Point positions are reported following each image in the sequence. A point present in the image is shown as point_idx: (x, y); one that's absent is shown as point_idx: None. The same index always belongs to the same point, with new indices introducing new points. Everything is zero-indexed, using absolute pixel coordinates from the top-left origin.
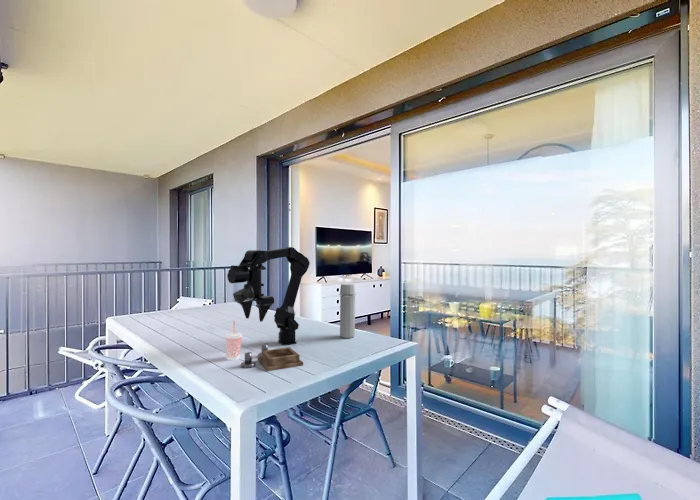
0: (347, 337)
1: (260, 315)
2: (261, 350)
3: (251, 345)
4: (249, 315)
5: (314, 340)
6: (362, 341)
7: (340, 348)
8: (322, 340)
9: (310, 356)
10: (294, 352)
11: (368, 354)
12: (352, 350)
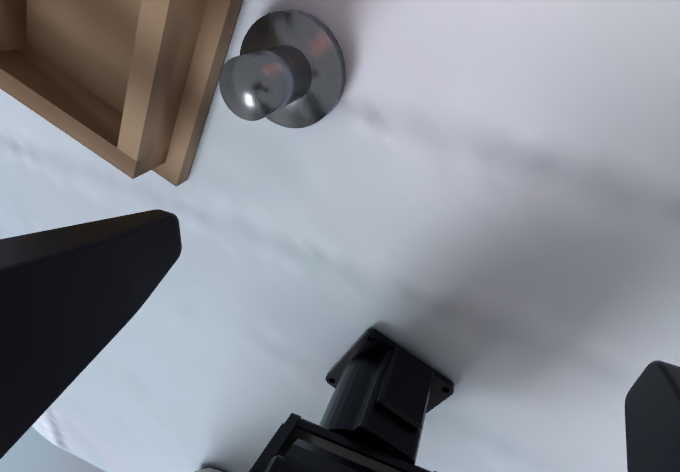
0: (203, 469)
1: (5, 241)
2: (283, 54)
3: (613, 258)
4: (628, 465)
5: None
6: (142, 438)
7: (123, 349)
8: (263, 434)
9: (107, 204)
10: (18, 90)
11: None
12: None
